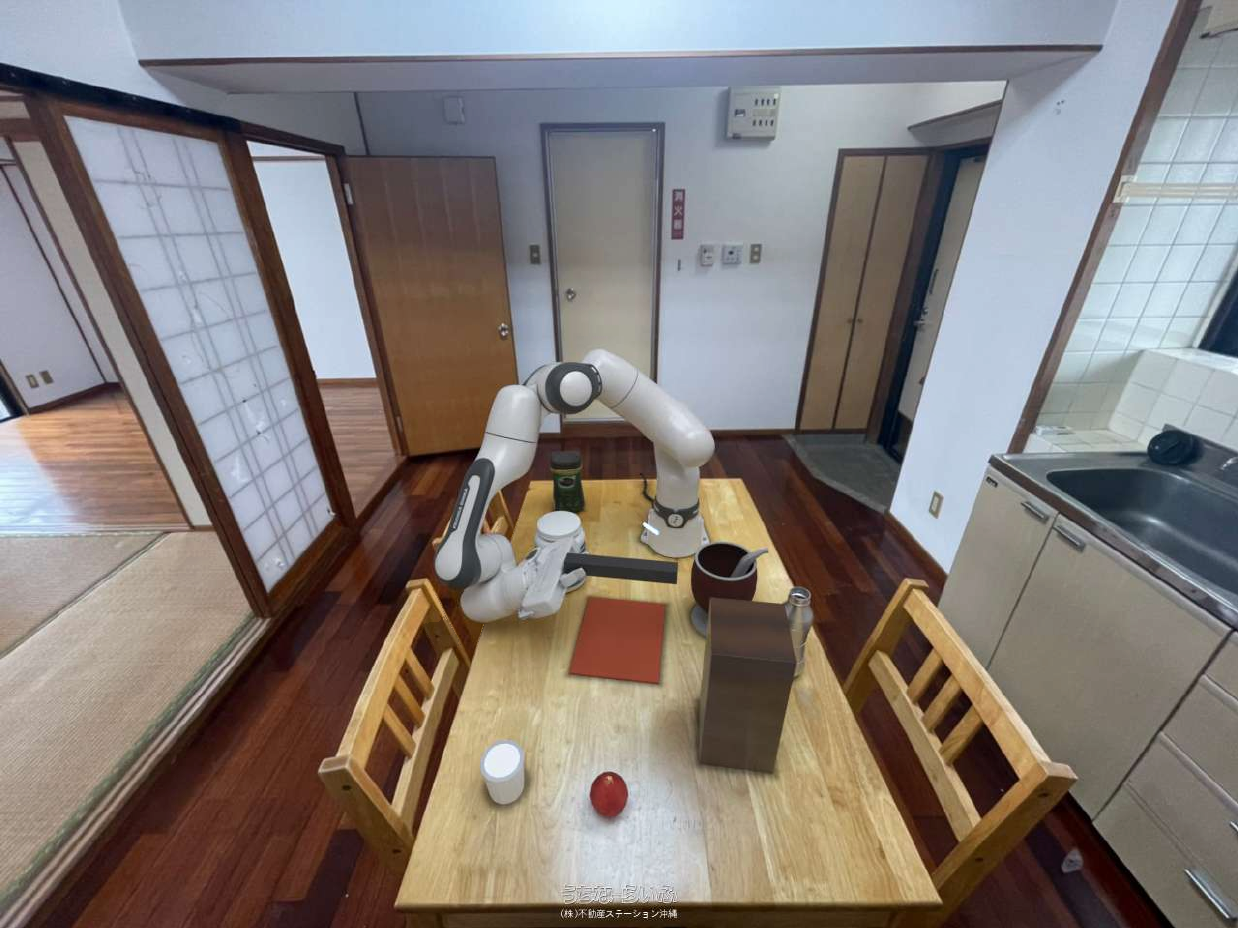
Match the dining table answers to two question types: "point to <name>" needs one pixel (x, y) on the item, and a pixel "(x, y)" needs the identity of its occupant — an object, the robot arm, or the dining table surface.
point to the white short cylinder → (503, 771)
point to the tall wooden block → (745, 684)
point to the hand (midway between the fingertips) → (586, 562)
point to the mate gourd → (722, 577)
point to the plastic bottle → (799, 622)
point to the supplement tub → (560, 534)
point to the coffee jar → (567, 481)
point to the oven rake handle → (623, 568)
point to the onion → (608, 794)
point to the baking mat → (620, 640)
